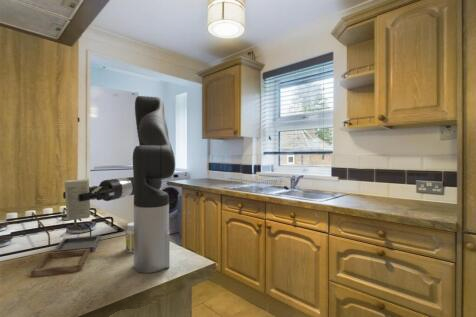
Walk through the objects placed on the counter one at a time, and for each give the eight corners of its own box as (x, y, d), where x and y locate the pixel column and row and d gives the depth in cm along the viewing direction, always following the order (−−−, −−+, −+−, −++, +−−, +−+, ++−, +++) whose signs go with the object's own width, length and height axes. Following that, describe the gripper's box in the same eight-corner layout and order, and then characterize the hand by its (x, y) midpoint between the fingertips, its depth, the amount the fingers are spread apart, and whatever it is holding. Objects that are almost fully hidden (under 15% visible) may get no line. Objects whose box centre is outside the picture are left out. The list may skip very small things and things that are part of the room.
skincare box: (90, 215, 88) (89, 178, 87) (89, 218, 84) (88, 180, 83) (68, 217, 85) (67, 179, 84) (65, 220, 81) (64, 181, 80)
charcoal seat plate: (100, 239, 92) (100, 235, 92) (94, 251, 81) (94, 247, 81) (63, 242, 88) (63, 238, 88) (52, 255, 78) (52, 251, 78)
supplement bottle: (144, 247, 85) (144, 221, 85) (137, 253, 81) (137, 226, 80) (130, 246, 86) (130, 221, 86) (122, 252, 81) (122, 225, 81)
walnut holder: (89, 253, 80) (89, 248, 80) (80, 270, 69) (80, 265, 69) (48, 257, 76) (47, 252, 76) (31, 276, 65) (31, 271, 65)
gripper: (102, 177, 100) (57, 183, 85) (130, 180, 94) (85, 186, 79) (103, 196, 100) (57, 205, 85) (130, 201, 94) (86, 211, 79)
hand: (71, 196), depth 82 cm, fingers closed on skincare box, 7 cm apart
